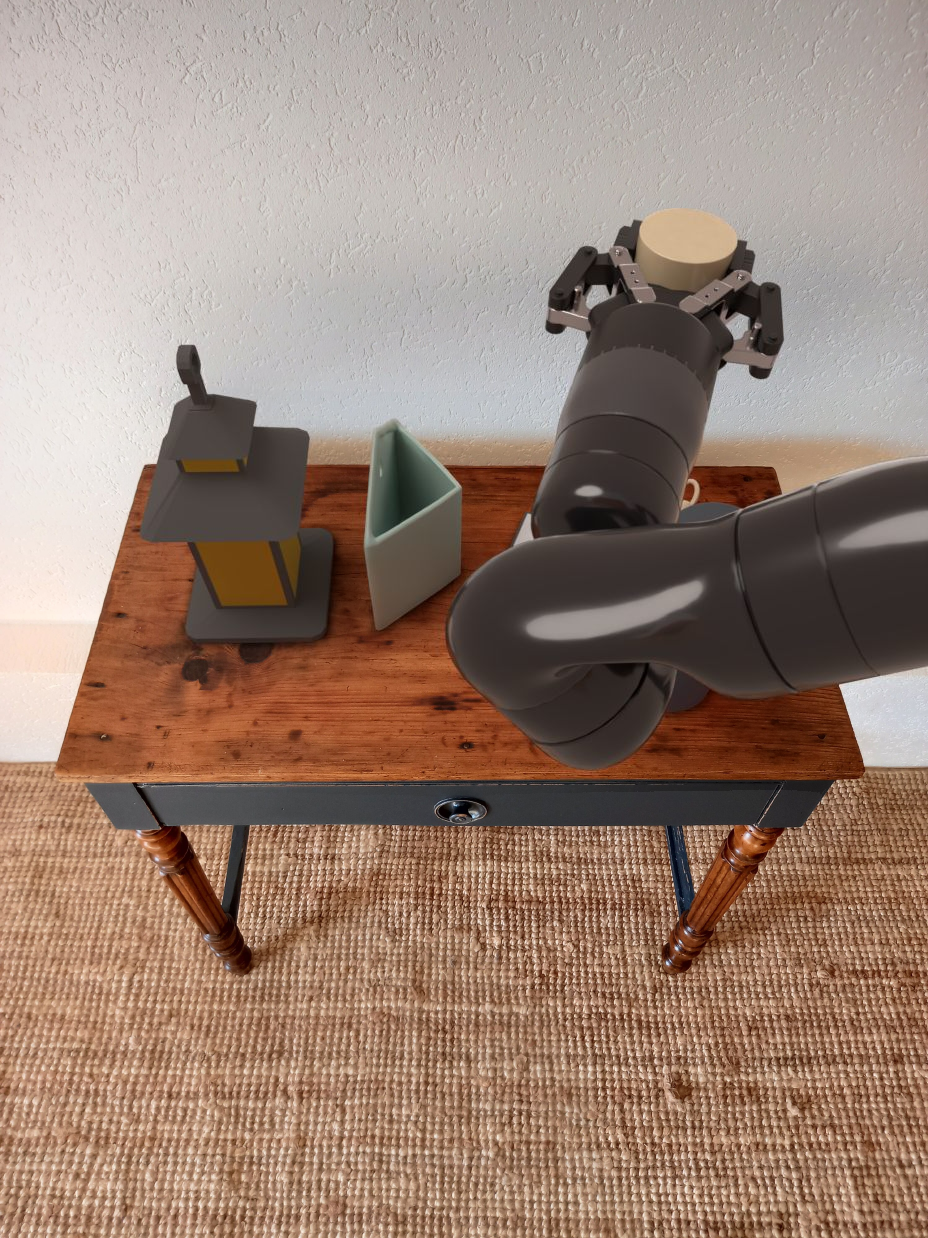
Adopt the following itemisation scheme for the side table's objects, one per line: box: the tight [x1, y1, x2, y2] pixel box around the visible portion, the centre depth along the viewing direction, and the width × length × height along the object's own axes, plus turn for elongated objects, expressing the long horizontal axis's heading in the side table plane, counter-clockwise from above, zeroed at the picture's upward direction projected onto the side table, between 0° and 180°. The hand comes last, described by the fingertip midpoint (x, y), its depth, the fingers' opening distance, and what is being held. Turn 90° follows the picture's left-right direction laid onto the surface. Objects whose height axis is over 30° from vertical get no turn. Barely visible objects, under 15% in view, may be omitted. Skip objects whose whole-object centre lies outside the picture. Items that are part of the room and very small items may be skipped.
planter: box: [363, 418, 463, 631], centre depth 78 cm, size 16×8×20 cm, turn 174°
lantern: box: [139, 344, 335, 645], centre depth 72 cm, size 14×14×30 cm
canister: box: [633, 207, 738, 293], centre depth 53 cm, size 6×6×9 cm
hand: (686, 243), depth 52 cm, fingers closed on canister, 6 cm apart
